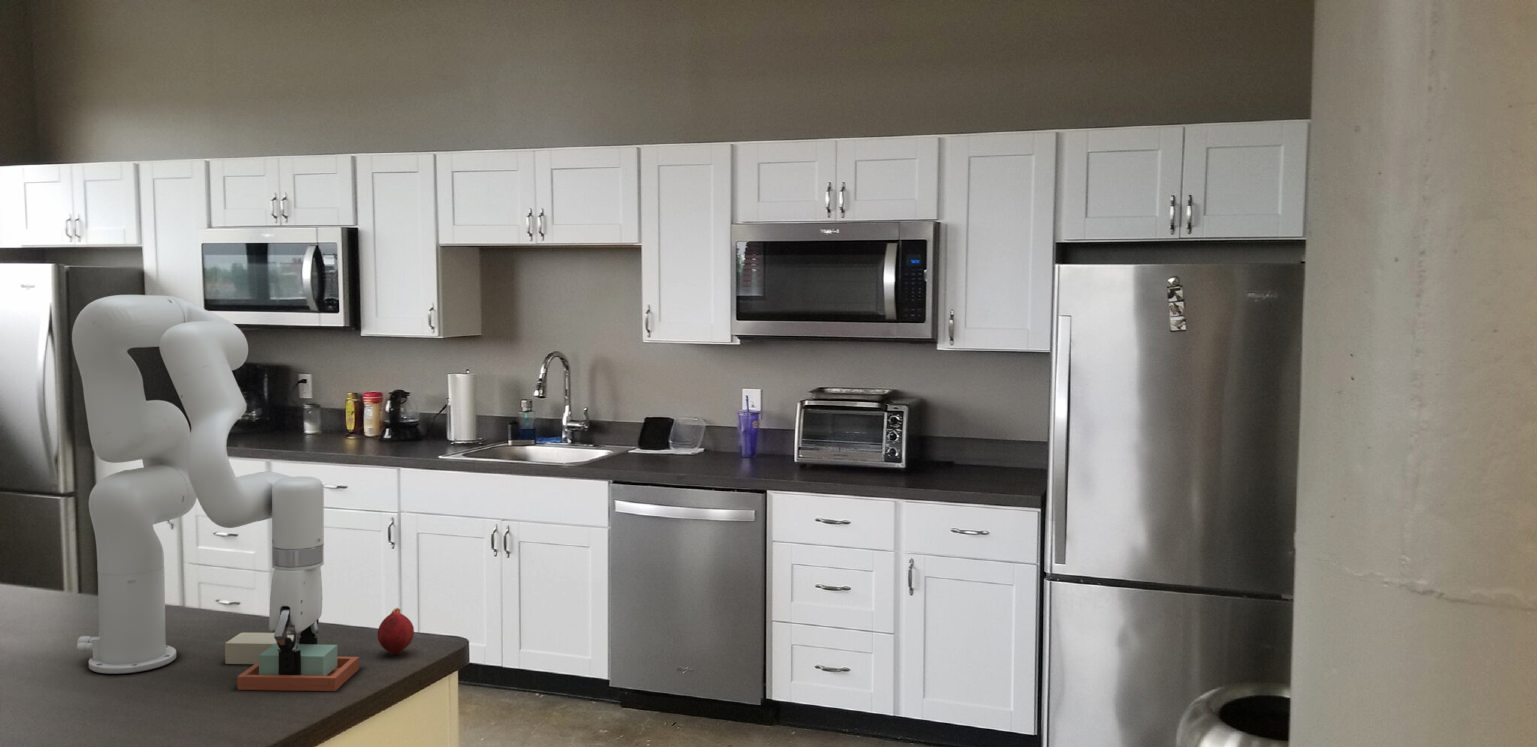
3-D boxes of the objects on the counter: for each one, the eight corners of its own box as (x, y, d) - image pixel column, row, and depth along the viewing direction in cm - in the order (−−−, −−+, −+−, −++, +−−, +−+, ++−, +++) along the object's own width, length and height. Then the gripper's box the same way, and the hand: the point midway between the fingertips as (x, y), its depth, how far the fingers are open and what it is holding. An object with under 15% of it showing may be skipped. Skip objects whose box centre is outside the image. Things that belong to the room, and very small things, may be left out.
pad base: (258, 676, 180) (258, 654, 179) (275, 664, 186) (274, 643, 185) (323, 678, 180) (323, 656, 180) (337, 665, 186) (337, 644, 185)
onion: (402, 661, 192) (402, 613, 192) (371, 658, 193) (370, 611, 193) (420, 650, 198) (419, 604, 197) (389, 648, 199) (388, 602, 199)
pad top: (225, 663, 190) (224, 642, 189) (241, 652, 196) (241, 632, 195) (286, 664, 190) (286, 643, 189) (300, 653, 196) (300, 633, 195)
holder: (237, 689, 177) (237, 676, 177) (266, 667, 188) (266, 655, 188) (335, 691, 178) (335, 677, 177) (359, 669, 188) (359, 656, 188)
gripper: (296, 543, 190) (296, 651, 191) (249, 568, 173) (250, 686, 174) (342, 544, 190) (342, 652, 191) (300, 569, 173) (300, 687, 174)
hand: (298, 667), depth 183 cm, fingers closed on pad base, 6 cm apart
